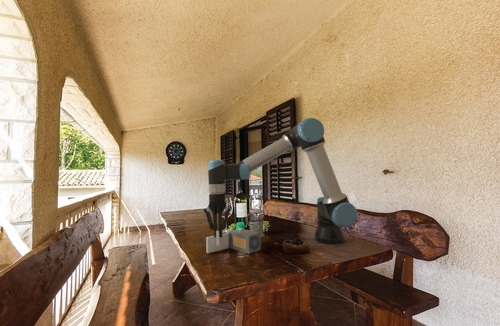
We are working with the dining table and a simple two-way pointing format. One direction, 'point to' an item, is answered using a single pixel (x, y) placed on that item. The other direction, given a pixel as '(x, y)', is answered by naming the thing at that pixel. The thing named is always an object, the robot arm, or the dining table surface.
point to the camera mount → (240, 225)
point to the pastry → (295, 246)
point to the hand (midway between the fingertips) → (218, 244)
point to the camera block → (245, 240)
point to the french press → (256, 221)
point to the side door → (212, 245)
